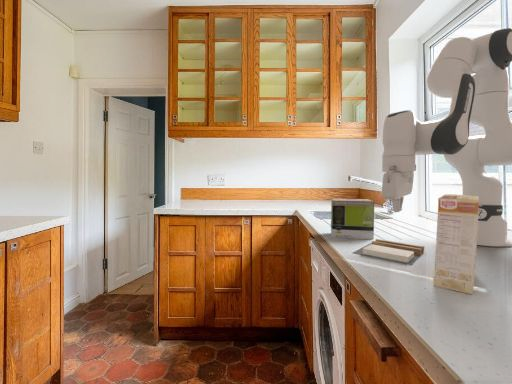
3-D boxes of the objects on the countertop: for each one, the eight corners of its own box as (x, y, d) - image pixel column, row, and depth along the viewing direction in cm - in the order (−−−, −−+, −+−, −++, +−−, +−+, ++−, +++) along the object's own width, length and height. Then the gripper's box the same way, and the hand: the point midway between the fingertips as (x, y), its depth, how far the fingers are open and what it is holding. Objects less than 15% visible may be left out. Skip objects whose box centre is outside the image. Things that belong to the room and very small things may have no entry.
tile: (370, 244, 86) (362, 248, 80) (414, 251, 78) (408, 257, 73) (370, 249, 86) (362, 254, 81) (413, 257, 78) (408, 263, 73)
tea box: (368, 235, 110) (370, 198, 109) (373, 241, 100) (375, 201, 99) (330, 233, 113) (331, 197, 112) (331, 238, 104) (332, 199, 103)
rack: (376, 244, 93) (376, 238, 93) (423, 252, 84) (424, 246, 84) (371, 246, 90) (371, 241, 89) (420, 255, 80) (421, 249, 80)
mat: (370, 244, 95) (371, 242, 95) (424, 253, 85) (424, 251, 84) (351, 254, 82) (351, 253, 82) (411, 267, 72) (411, 265, 72)
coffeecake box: (439, 268, 71) (444, 193, 70) (474, 275, 67) (479, 195, 66) (431, 286, 60) (437, 197, 58) (473, 295, 55) (479, 199, 54)
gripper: (401, 165, 72) (400, 217, 73) (417, 165, 88) (416, 208, 89) (376, 166, 76) (375, 215, 78) (395, 165, 92) (395, 206, 93)
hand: (397, 211), depth 83 cm, fingers closed
